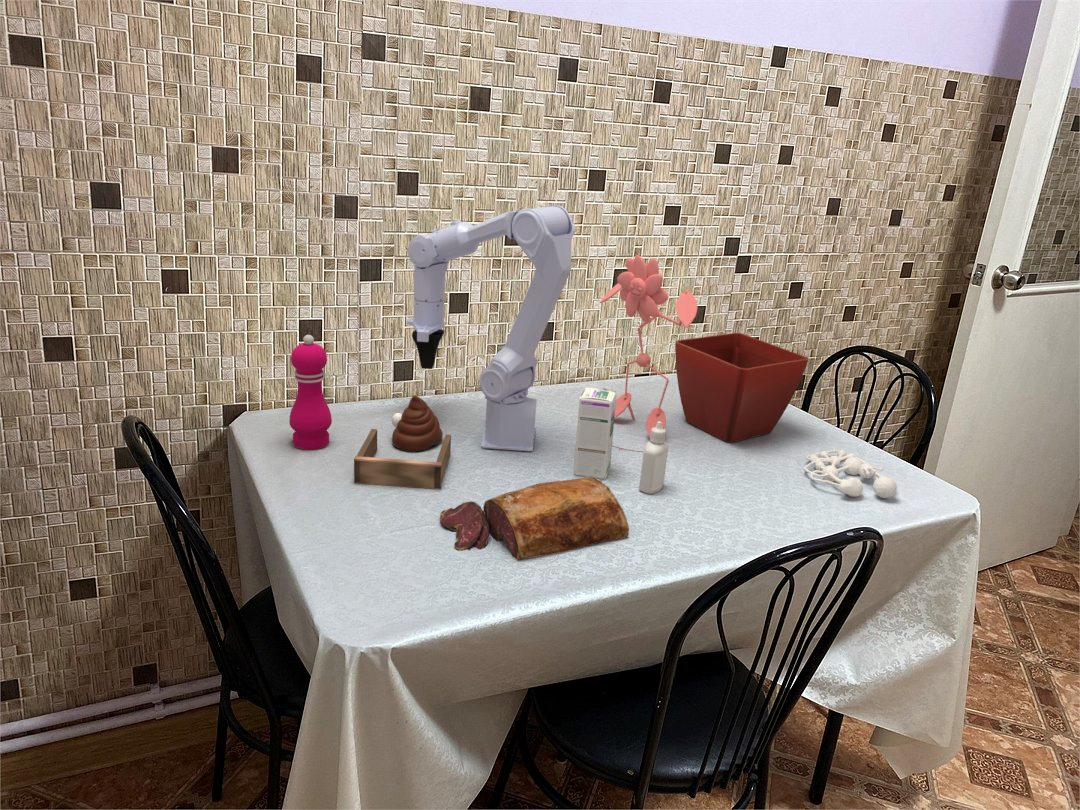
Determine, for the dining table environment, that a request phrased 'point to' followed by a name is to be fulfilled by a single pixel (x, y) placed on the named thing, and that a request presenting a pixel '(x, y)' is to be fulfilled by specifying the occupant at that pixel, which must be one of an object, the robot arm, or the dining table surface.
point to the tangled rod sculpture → (852, 466)
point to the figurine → (647, 319)
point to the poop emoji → (416, 427)
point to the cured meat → (541, 518)
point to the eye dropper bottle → (654, 461)
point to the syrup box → (594, 432)
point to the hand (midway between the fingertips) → (427, 367)
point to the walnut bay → (399, 467)
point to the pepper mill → (309, 397)
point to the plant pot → (735, 384)
